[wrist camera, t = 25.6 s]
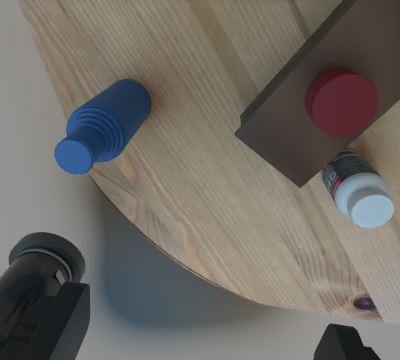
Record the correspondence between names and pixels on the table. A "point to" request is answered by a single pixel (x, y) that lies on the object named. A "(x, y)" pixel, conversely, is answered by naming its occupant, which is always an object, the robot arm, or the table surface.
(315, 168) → the brown rectangular box
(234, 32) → the table surface
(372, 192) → the pill bottle
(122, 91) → the bottle
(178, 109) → the table surface
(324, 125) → the dark red short cylinder
